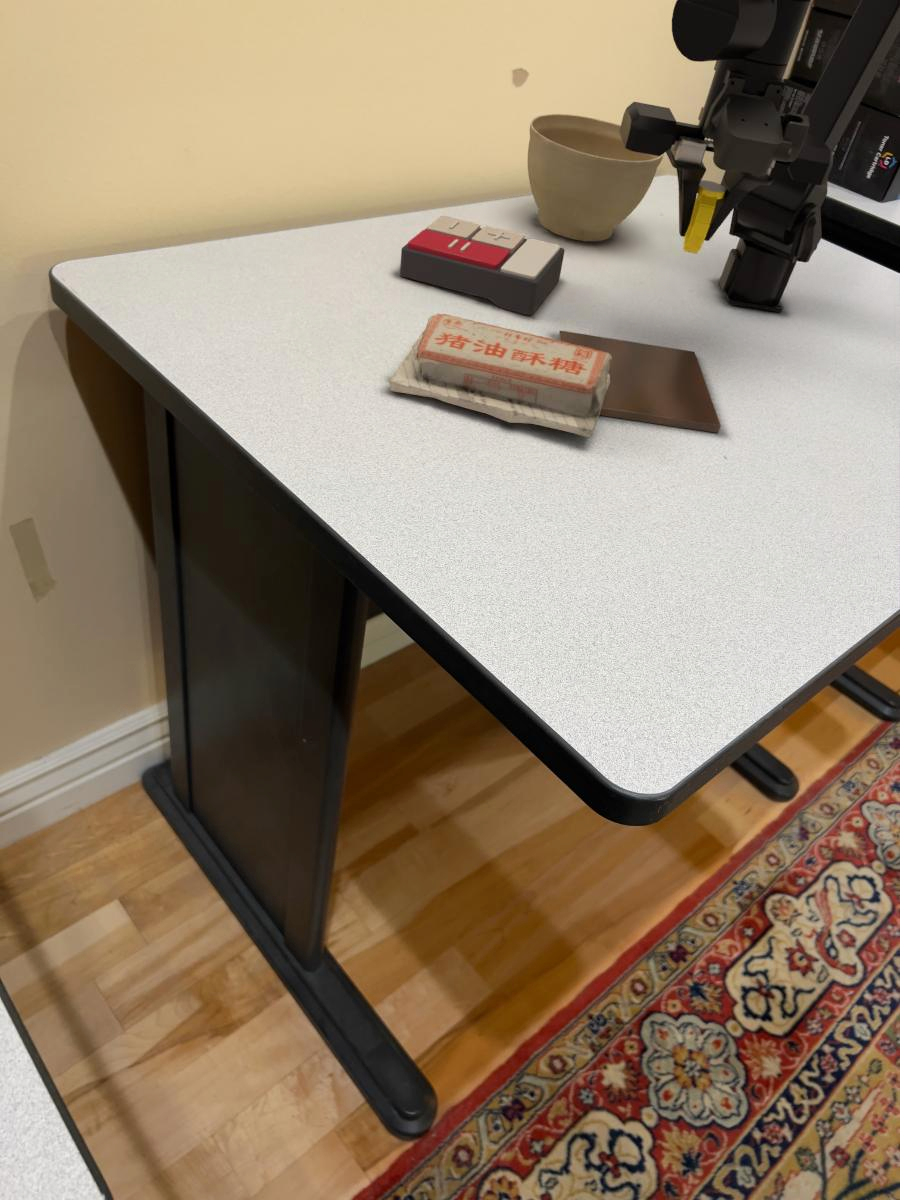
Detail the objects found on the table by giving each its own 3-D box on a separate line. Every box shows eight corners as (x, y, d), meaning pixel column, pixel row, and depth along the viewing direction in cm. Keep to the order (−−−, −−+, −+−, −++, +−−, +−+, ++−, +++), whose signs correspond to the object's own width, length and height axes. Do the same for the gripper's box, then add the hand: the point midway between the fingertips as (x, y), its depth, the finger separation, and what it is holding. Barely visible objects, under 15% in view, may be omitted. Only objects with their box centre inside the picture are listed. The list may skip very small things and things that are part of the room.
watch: (676, 234, 90) (697, 172, 86) (703, 240, 90) (725, 179, 85) (676, 255, 85) (697, 191, 81) (704, 262, 85) (727, 198, 81)
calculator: (439, 210, 99) (567, 241, 96) (435, 249, 102) (560, 280, 99) (400, 240, 92) (538, 275, 88) (397, 281, 94) (531, 316, 91)
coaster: (692, 358, 90) (694, 351, 90) (718, 433, 80) (721, 425, 80) (557, 337, 89) (559, 329, 89) (566, 410, 79) (568, 402, 78)
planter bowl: (622, 267, 105) (650, 171, 98) (495, 229, 108) (513, 132, 100) (648, 226, 117) (675, 138, 109) (533, 193, 119) (552, 104, 112)
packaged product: (621, 338, 78) (603, 392, 71) (609, 387, 81) (590, 443, 74) (426, 294, 80) (390, 341, 73) (422, 343, 84) (387, 393, 77)
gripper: (662, 57, 69) (608, 253, 80) (888, 100, 71) (806, 287, 81) (645, 28, 78) (597, 209, 88) (848, 67, 79) (777, 241, 90)
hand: (693, 237), depth 87 cm, fingers closed on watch, 2 cm apart
